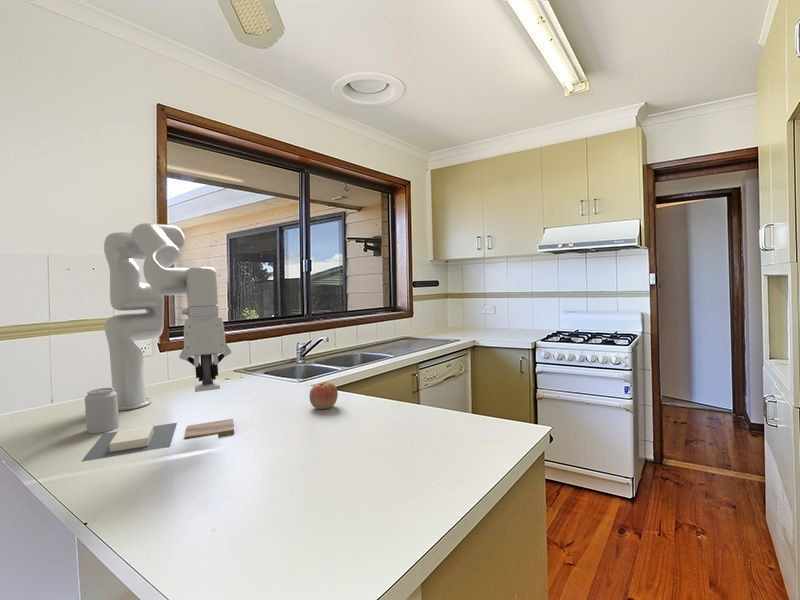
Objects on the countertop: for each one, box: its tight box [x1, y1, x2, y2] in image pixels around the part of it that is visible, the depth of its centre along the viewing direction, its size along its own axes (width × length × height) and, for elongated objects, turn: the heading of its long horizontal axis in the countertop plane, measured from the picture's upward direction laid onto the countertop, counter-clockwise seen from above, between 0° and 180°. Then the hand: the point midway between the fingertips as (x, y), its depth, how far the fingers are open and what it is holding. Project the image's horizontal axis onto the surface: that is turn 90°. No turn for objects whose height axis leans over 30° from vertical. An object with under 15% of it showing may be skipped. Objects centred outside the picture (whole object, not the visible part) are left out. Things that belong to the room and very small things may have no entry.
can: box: [84, 387, 120, 434], centre depth 119 cm, size 8×8×12 cm
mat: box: [80, 422, 178, 462], centre depth 110 cm, size 20×18×1 cm
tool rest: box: [184, 418, 235, 440], centre depth 116 cm, size 10×12×1 cm
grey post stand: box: [194, 354, 221, 393], centre depth 115 cm, size 8×6×9 cm
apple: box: [308, 381, 339, 410], centre depth 134 cm, size 9×9×8 cm
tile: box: [109, 425, 154, 452], centre depth 108 cm, size 2×8×10 cm
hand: (207, 378), depth 115 cm, fingers closed on grey post stand, 2 cm apart
